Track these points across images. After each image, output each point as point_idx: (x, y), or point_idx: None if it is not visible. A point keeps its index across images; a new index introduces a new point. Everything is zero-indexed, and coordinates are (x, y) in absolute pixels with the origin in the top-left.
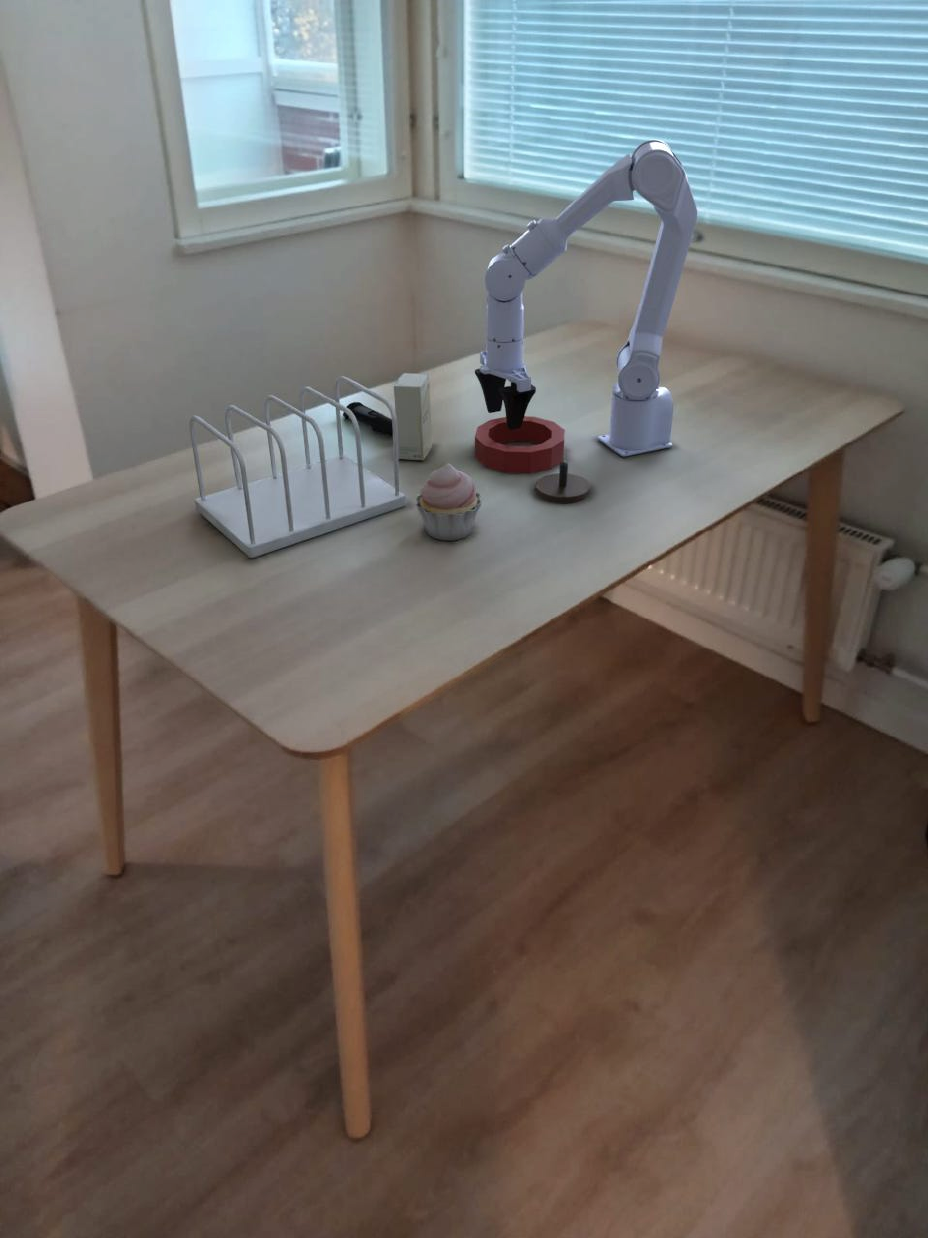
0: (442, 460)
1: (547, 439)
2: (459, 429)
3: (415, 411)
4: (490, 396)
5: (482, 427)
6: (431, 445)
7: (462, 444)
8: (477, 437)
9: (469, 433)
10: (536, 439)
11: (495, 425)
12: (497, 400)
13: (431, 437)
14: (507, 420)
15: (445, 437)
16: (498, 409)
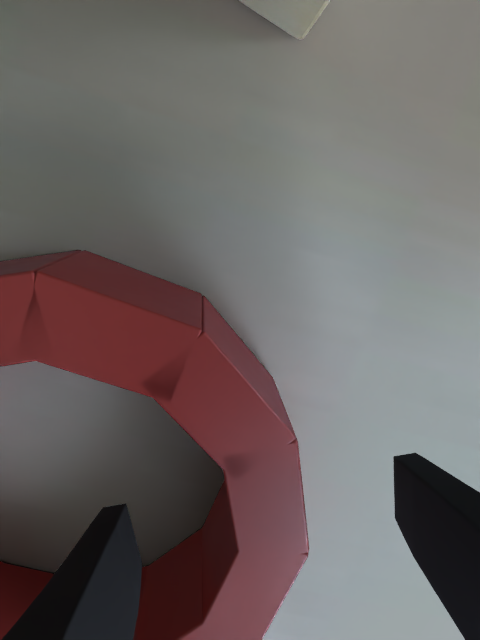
0: (84, 46)
1: None
2: (453, 267)
3: None
4: (465, 549)
5: (184, 362)
6: (283, 25)
7: (269, 231)
8: (12, 284)
9: (386, 303)
10: (173, 561)
11: (201, 445)
12: (435, 560)
13: (305, 8)
14: (83, 546)
15: (389, 164)
16: (400, 515)
